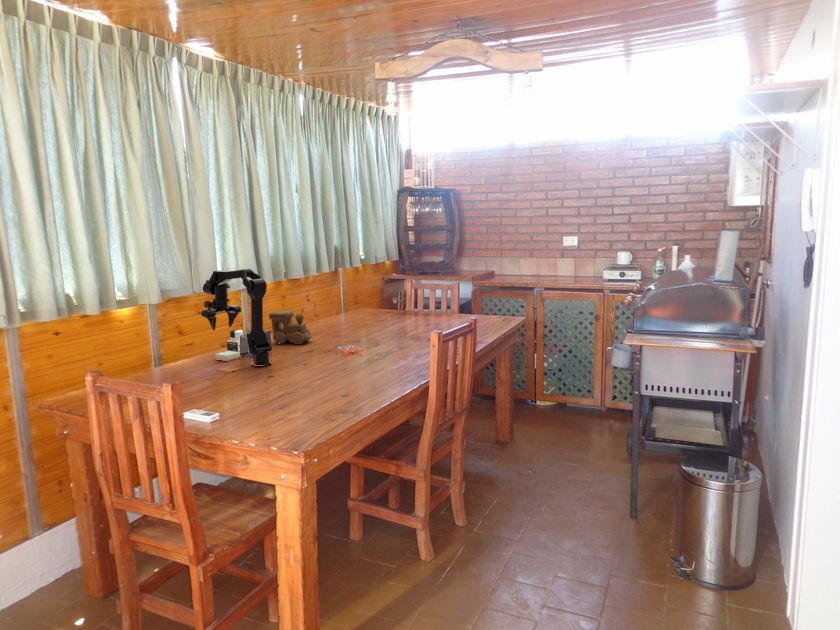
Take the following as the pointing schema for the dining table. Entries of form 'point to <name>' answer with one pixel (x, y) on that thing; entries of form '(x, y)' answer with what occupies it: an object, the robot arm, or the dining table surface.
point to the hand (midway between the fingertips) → (222, 328)
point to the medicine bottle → (234, 340)
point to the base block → (227, 354)
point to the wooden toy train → (288, 327)
